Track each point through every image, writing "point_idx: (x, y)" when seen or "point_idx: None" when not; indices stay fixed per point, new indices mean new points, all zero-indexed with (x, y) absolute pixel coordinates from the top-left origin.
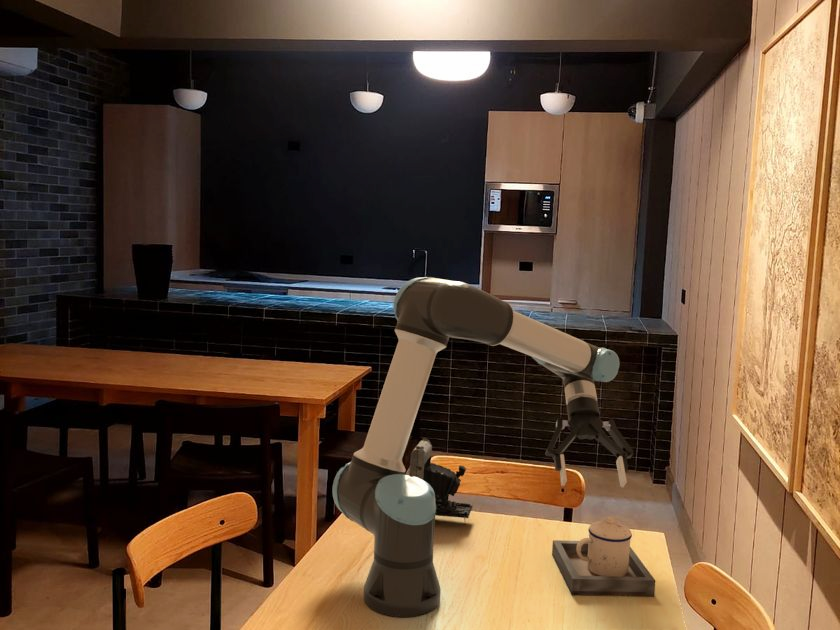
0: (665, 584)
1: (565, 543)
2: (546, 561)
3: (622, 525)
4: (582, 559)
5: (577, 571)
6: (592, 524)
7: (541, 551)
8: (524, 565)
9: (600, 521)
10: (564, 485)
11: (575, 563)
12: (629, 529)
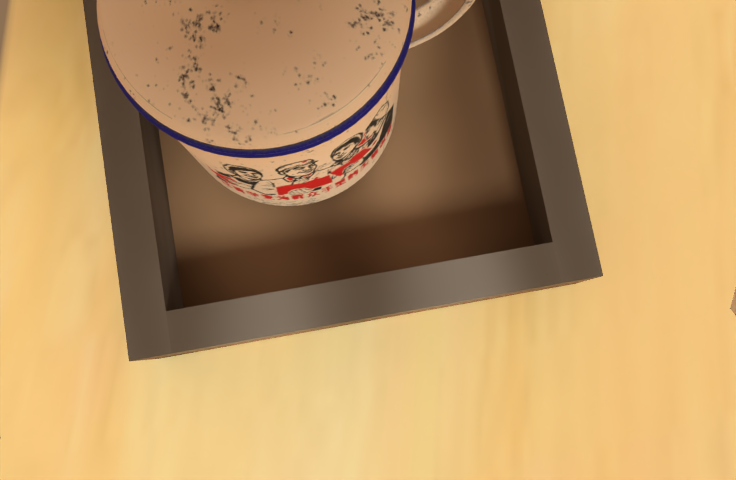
0: (15, 65)
1: (523, 247)
2: (602, 196)
3: (146, 33)
4: (435, 5)
5: (449, 50)
6: (384, 30)
7: (633, 321)
8: (714, 122)
9: (313, 100)
10: (734, 304)
11: (455, 143)
12: (101, 9)
